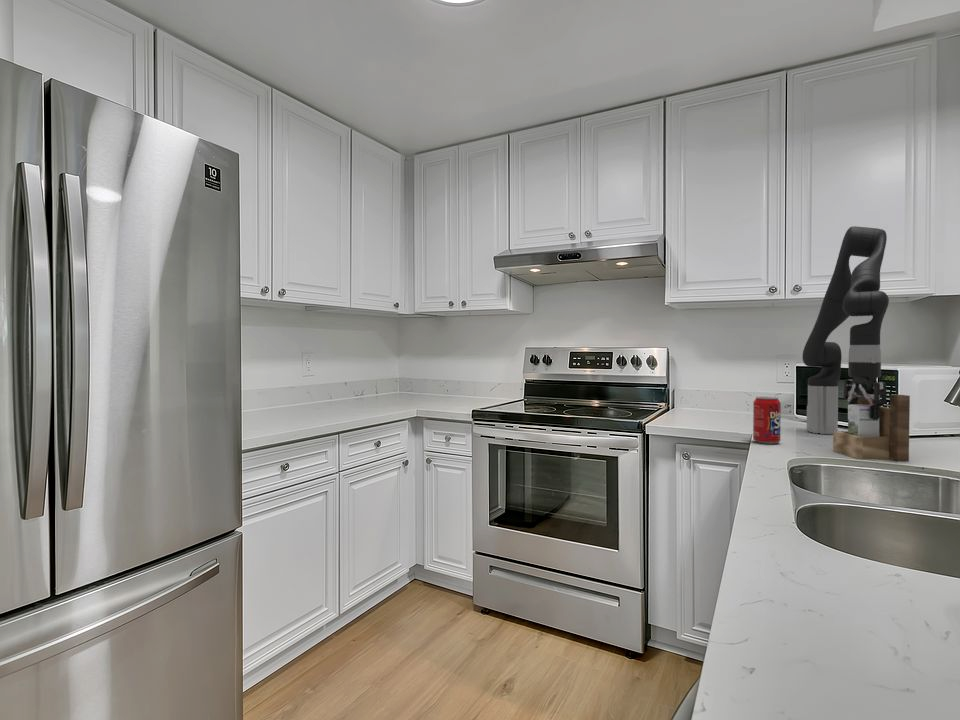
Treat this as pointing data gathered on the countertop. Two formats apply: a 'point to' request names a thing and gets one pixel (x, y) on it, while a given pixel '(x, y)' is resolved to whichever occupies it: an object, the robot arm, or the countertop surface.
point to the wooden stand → (880, 434)
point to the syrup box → (862, 421)
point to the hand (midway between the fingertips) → (863, 416)
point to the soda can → (766, 420)
